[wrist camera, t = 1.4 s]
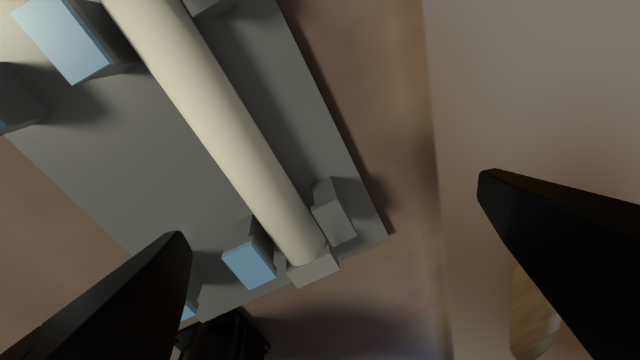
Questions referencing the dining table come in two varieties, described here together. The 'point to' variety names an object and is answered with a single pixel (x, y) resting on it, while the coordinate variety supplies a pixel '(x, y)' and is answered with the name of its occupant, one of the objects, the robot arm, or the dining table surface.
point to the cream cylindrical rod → (225, 129)
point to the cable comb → (176, 139)
